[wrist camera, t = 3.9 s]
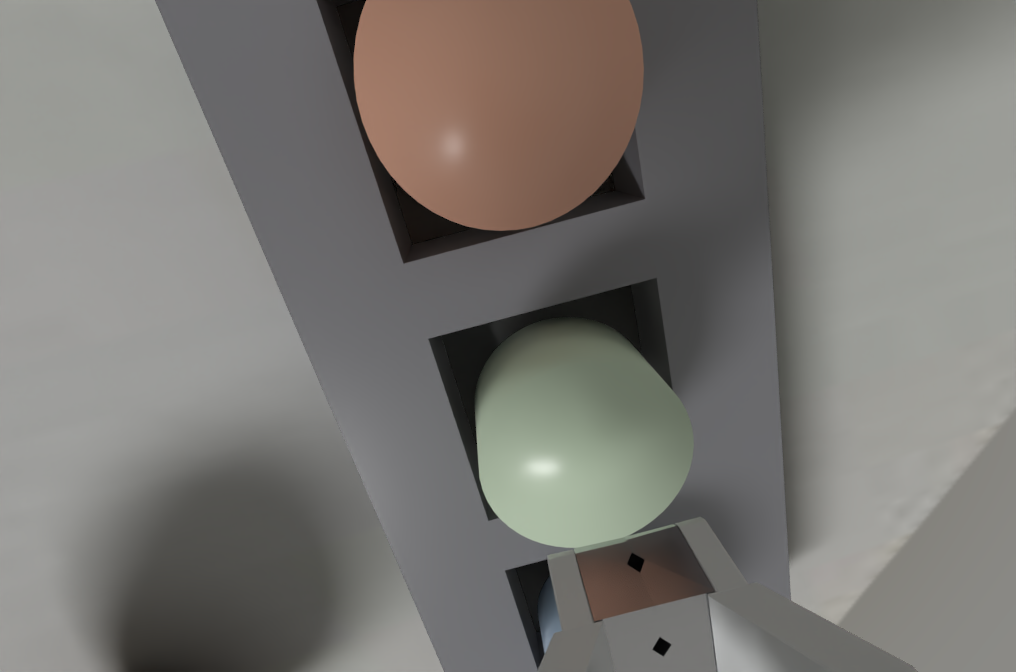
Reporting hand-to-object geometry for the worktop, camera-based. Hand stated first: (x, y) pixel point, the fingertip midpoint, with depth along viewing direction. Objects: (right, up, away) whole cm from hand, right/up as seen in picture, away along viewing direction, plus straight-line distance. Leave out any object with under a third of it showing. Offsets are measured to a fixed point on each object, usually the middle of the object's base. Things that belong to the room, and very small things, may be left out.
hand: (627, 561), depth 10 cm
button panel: (-1, +3, +7) cm, 7 cm away
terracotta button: (-3, +10, +2) cm, 10 cm away
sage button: (-1, +2, +5) cm, 5 cm away
